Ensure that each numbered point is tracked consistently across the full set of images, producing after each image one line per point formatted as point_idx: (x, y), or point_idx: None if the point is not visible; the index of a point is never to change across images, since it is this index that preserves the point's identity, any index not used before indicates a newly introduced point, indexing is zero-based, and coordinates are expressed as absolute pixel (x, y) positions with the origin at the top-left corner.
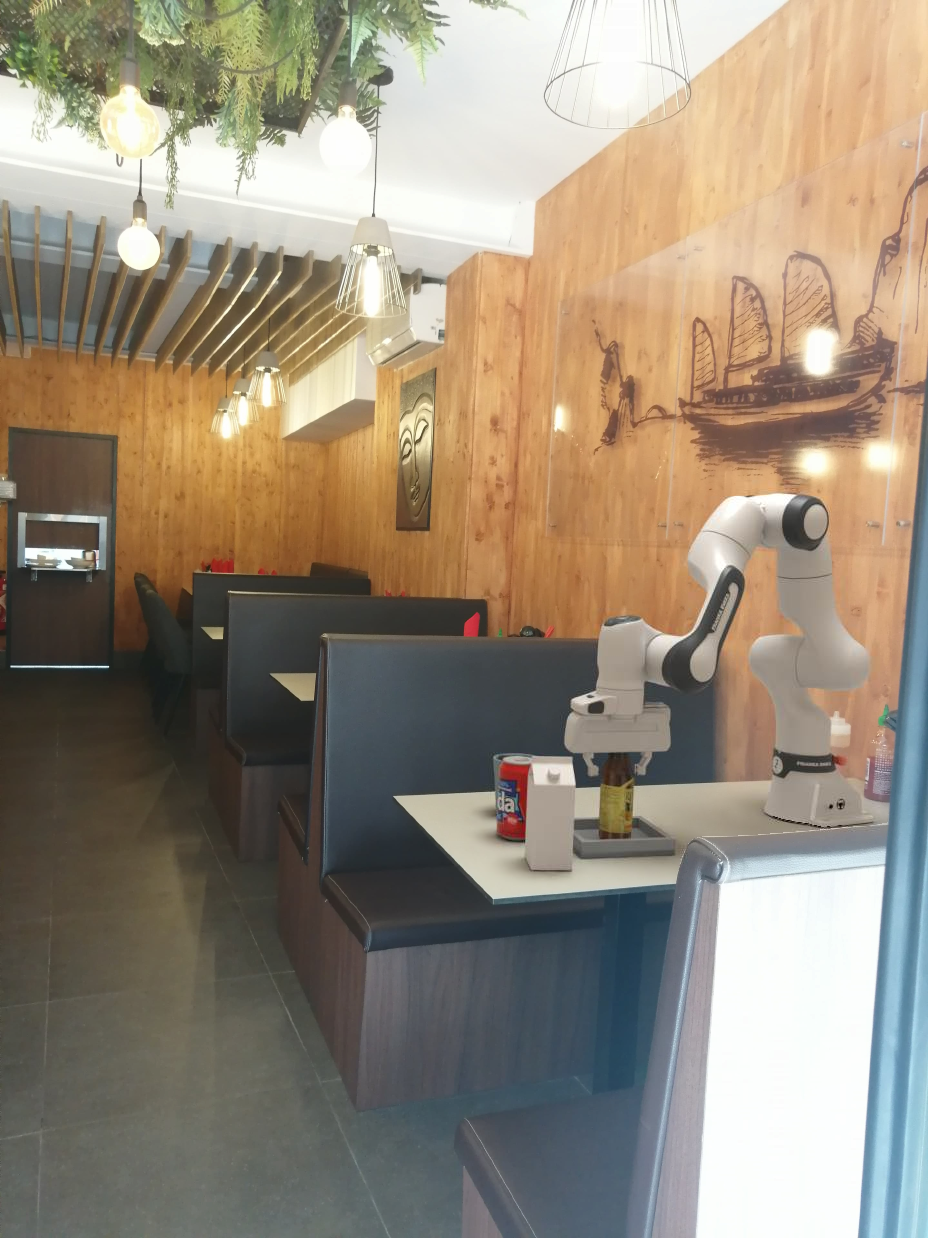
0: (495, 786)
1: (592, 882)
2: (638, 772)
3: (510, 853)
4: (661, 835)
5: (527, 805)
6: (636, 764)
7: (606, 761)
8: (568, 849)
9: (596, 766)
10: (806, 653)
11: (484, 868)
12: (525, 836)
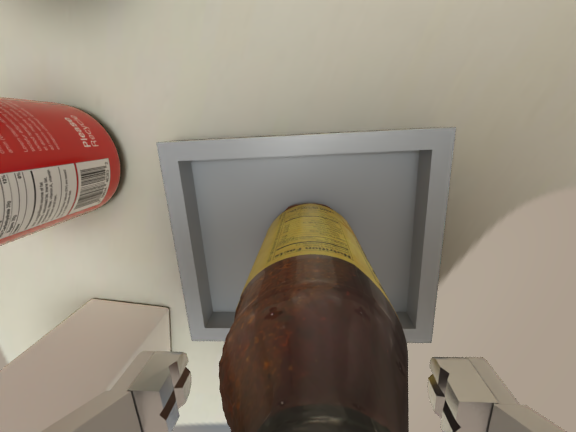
0: None
1: (198, 413)
2: (435, 409)
3: (65, 271)
4: (416, 303)
5: None
6: (468, 410)
7: (232, 413)
8: None
9: (160, 419)
10: None
11: (21, 339)
12: (55, 327)
